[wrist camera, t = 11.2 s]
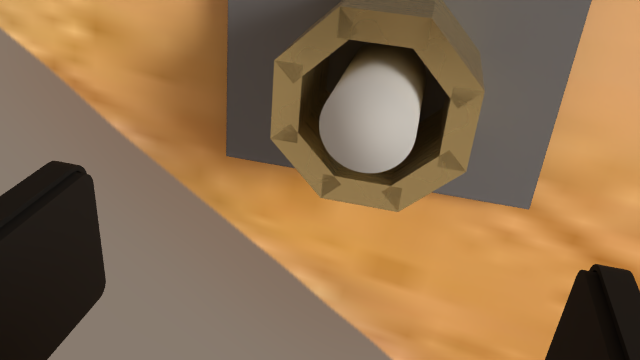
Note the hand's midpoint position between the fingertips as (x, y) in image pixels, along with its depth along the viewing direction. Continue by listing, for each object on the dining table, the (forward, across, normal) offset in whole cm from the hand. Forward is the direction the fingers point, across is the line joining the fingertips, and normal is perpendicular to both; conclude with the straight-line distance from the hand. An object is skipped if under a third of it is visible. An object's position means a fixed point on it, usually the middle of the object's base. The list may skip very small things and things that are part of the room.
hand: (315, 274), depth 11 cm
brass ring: (+15, 0, +1) cm, 15 cm away
